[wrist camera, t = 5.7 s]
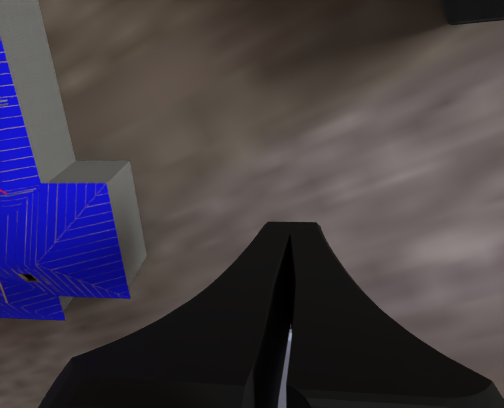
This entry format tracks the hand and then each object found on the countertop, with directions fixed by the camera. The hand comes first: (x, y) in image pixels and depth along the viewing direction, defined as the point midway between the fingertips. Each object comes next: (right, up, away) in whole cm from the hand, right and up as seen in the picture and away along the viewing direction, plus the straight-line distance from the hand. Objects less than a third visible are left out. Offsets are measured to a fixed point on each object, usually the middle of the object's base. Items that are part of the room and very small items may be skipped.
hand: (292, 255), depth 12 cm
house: (-12, +4, +11) cm, 17 cm away
